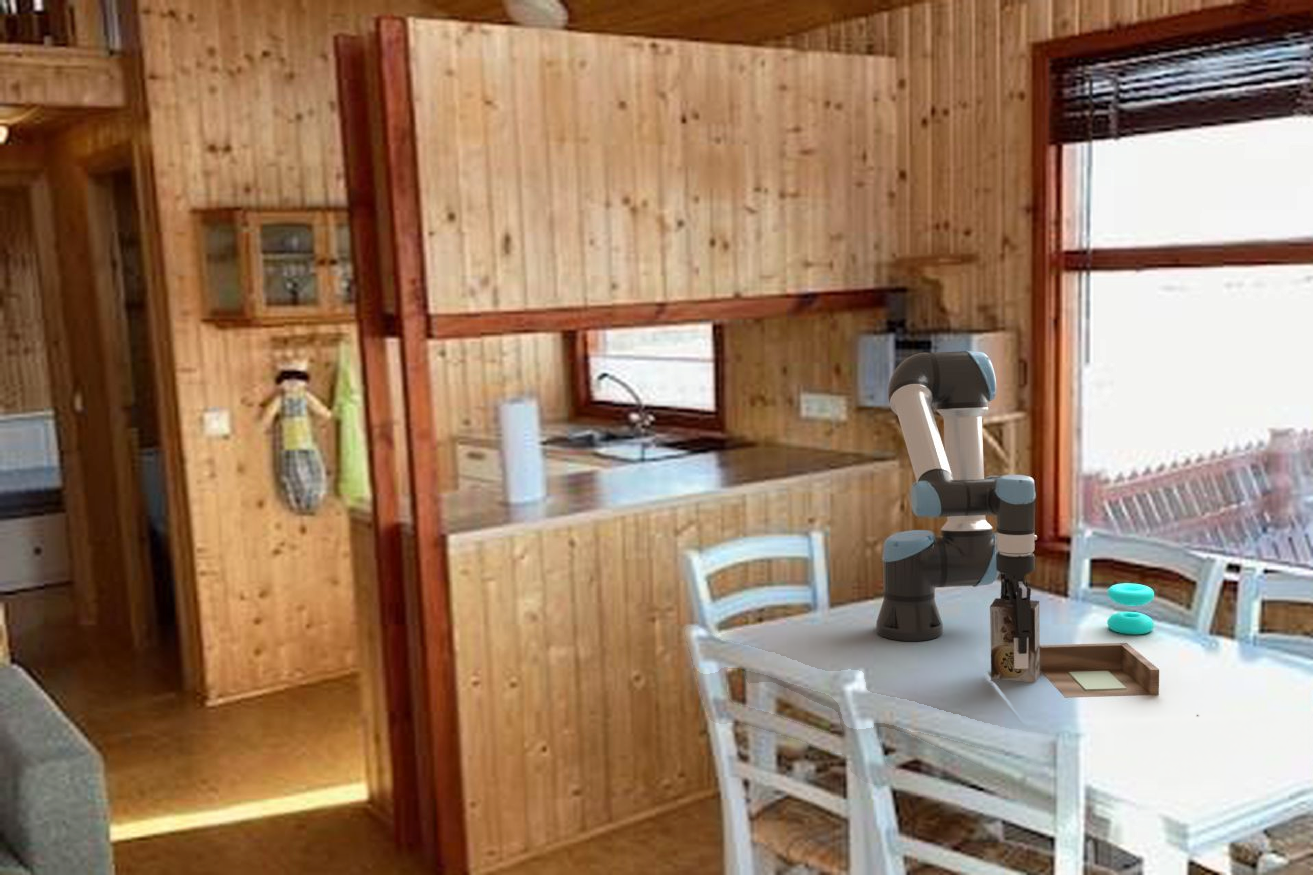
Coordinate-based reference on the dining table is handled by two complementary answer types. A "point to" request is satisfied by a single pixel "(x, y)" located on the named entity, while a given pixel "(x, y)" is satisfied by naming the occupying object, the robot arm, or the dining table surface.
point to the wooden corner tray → (1099, 668)
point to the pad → (1097, 680)
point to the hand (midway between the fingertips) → (1015, 661)
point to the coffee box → (1012, 643)
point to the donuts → (1131, 597)
